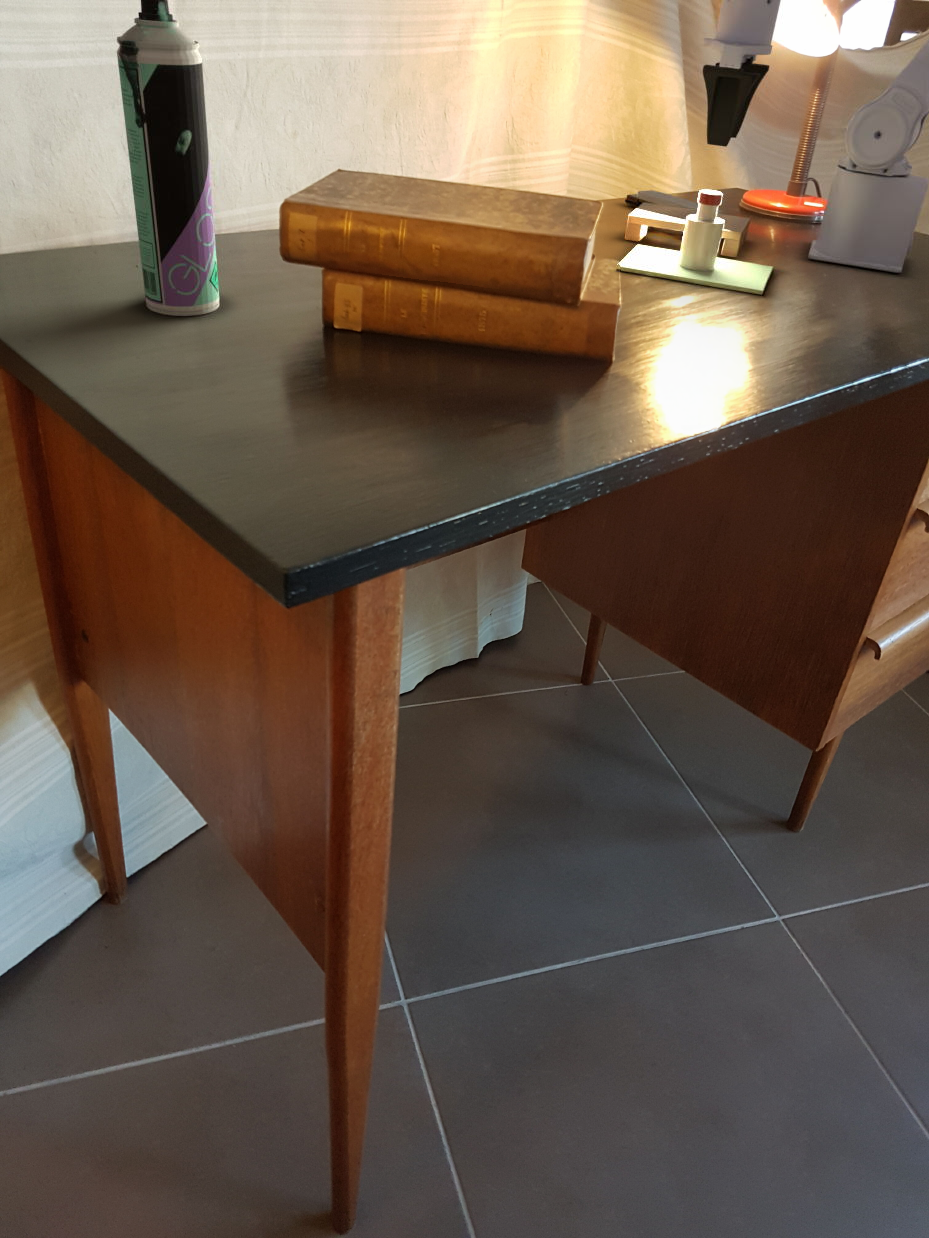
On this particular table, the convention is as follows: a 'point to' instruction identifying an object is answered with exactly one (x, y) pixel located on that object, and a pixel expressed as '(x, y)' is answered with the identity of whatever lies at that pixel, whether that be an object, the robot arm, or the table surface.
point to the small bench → (676, 220)
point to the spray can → (169, 162)
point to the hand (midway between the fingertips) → (722, 141)
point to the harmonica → (661, 200)
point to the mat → (721, 276)
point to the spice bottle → (702, 234)
